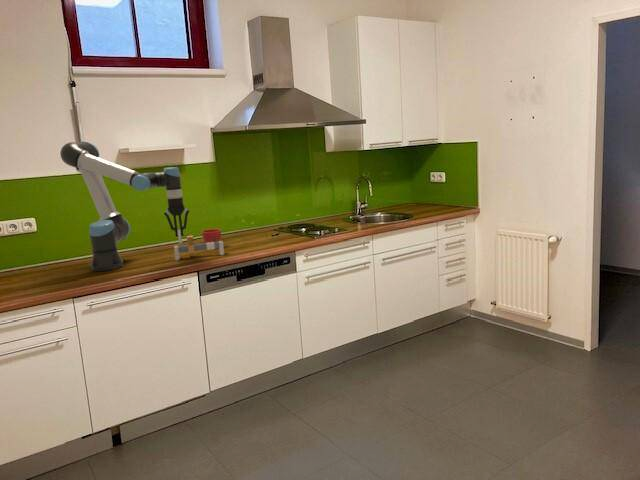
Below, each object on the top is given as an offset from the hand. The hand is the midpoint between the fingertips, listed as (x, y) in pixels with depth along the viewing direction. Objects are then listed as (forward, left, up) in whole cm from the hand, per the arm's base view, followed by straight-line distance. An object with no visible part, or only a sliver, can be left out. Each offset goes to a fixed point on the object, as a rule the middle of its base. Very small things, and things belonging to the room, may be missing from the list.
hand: (180, 242), depth 277 cm
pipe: (+9, 0, -9) cm, 12 cm away
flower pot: (+17, +21, -9) cm, 28 cm away
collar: (+5, 0, -7) cm, 9 cm away
